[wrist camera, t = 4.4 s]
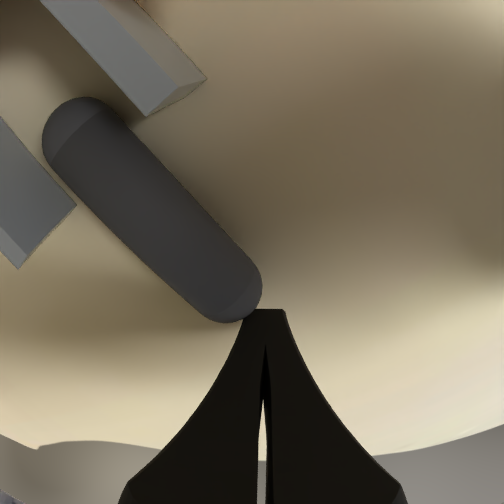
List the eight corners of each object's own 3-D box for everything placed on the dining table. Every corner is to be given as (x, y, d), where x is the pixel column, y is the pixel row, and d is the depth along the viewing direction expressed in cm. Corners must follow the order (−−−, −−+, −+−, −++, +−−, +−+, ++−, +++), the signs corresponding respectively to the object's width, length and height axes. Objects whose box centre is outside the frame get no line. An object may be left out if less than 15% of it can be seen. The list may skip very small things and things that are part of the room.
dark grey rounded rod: (275, 270, 11) (278, 317, 9) (224, 301, 11) (219, 347, 10) (99, 77, 7) (57, 84, 5) (56, 129, 8) (14, 150, 6)
